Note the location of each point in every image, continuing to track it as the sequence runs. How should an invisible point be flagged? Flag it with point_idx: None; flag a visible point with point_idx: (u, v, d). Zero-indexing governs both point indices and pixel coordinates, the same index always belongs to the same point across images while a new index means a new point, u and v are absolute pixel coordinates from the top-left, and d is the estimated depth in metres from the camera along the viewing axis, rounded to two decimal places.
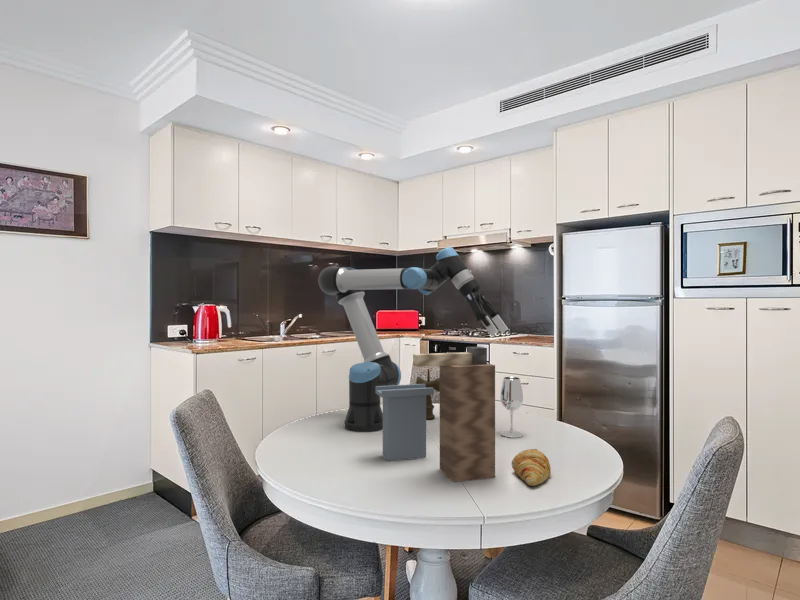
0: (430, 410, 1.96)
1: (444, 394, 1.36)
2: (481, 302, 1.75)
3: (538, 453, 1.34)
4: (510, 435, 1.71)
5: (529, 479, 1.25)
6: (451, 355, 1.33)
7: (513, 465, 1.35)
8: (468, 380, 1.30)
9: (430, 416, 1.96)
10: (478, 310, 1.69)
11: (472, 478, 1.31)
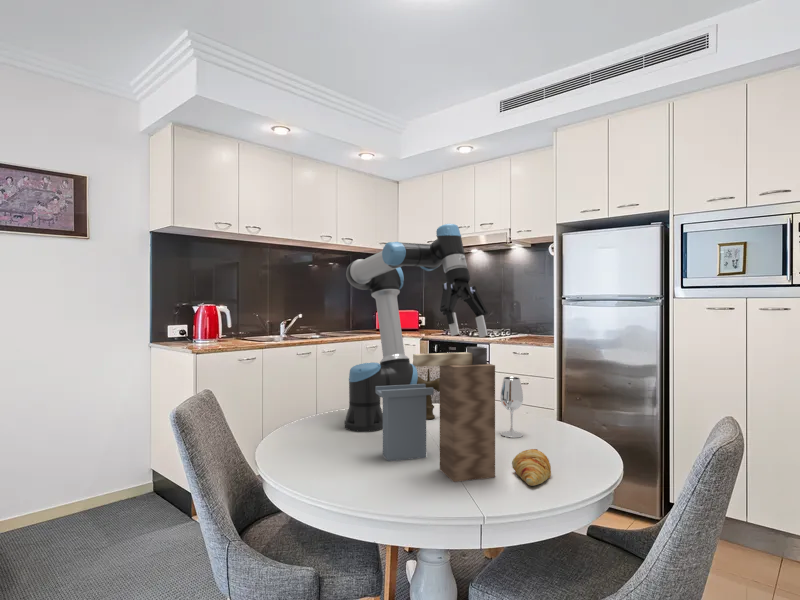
0: (430, 410, 1.96)
1: (444, 394, 1.36)
2: (458, 295, 1.51)
3: (538, 453, 1.34)
4: (510, 435, 1.71)
5: (529, 479, 1.25)
6: (451, 355, 1.33)
7: (513, 465, 1.35)
8: (468, 380, 1.30)
9: (430, 416, 1.96)
10: (445, 303, 1.47)
11: (472, 478, 1.31)
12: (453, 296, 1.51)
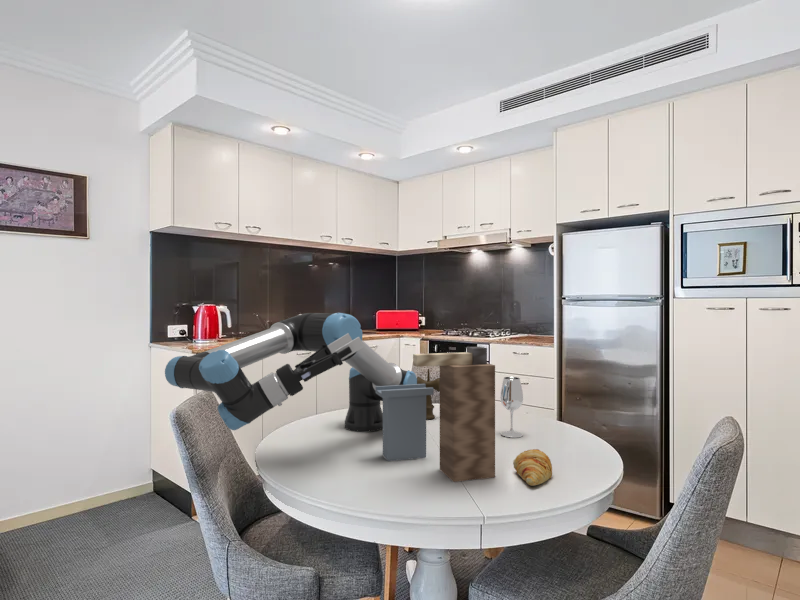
0: (430, 410, 1.96)
1: (444, 394, 1.36)
2: None
3: (540, 453, 1.34)
4: (510, 435, 1.71)
5: (529, 479, 1.25)
6: (451, 355, 1.33)
7: (515, 465, 1.35)
8: (468, 380, 1.30)
9: (430, 416, 1.96)
10: None
11: (472, 478, 1.31)
12: None
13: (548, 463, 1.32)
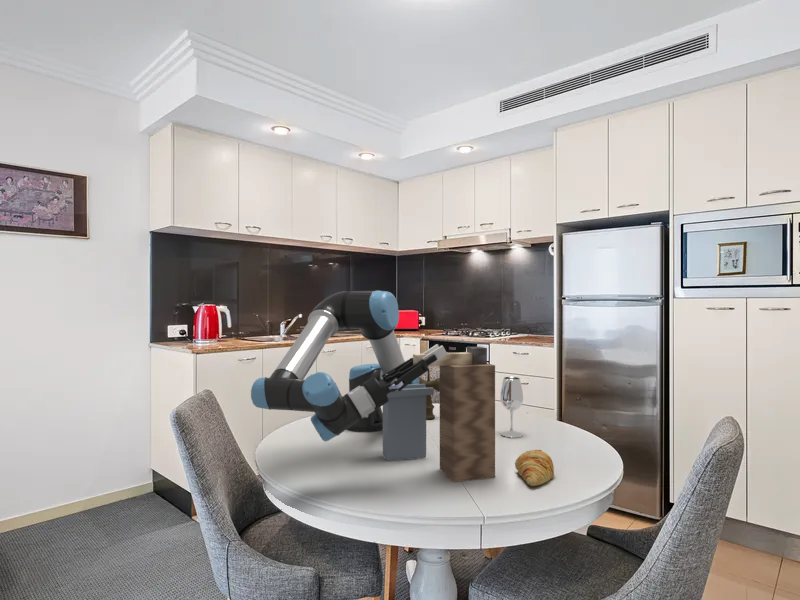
0: (430, 410, 1.96)
1: (444, 394, 1.36)
2: None
3: (541, 454, 1.34)
4: (510, 435, 1.71)
5: (529, 479, 1.25)
6: (451, 355, 1.33)
7: (516, 465, 1.35)
8: (468, 380, 1.30)
9: (430, 416, 1.96)
10: None
11: (472, 478, 1.31)
12: None
13: (550, 464, 1.32)
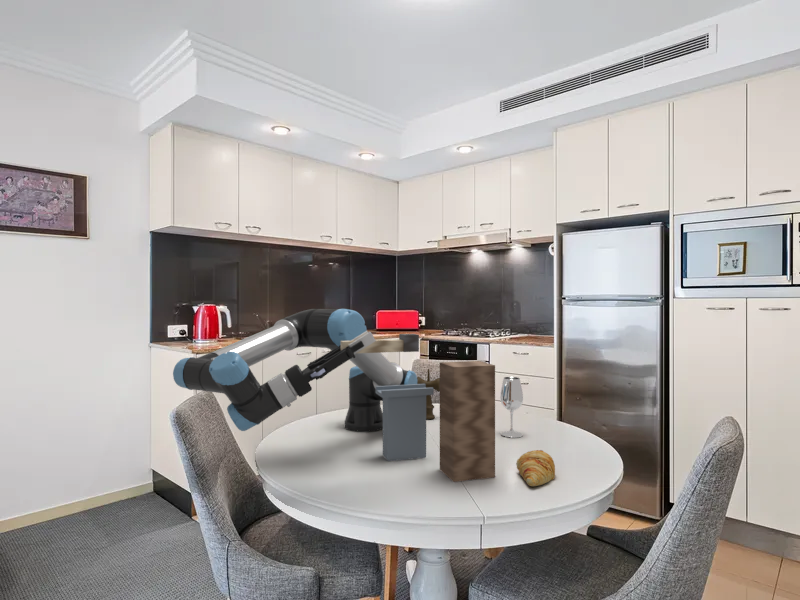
0: (430, 410, 1.96)
1: (444, 394, 1.36)
2: None
3: (543, 454, 1.33)
4: (510, 435, 1.71)
5: (528, 479, 1.25)
6: (380, 342, 1.27)
7: (517, 465, 1.35)
8: (468, 380, 1.30)
9: (430, 416, 1.96)
10: None
11: (472, 478, 1.31)
12: None
13: (551, 464, 1.32)
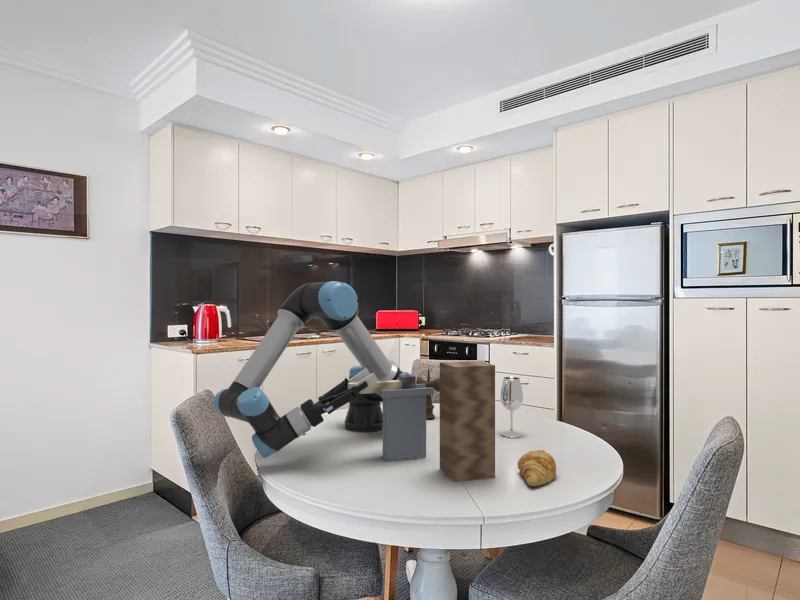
0: (430, 410, 1.96)
1: (444, 394, 1.36)
2: None
3: (544, 454, 1.33)
4: (510, 435, 1.71)
5: (528, 479, 1.25)
6: (382, 383, 1.47)
7: (519, 465, 1.35)
8: (468, 380, 1.30)
9: (430, 416, 1.96)
10: None
11: (472, 478, 1.31)
12: None
13: (552, 465, 1.31)
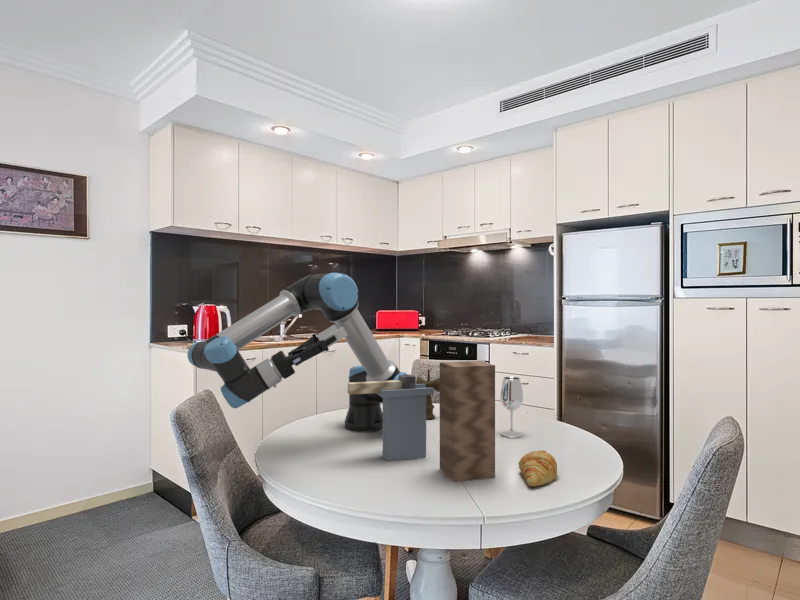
0: (430, 410, 1.96)
1: (444, 394, 1.36)
2: None
3: (545, 455, 1.33)
4: (510, 435, 1.71)
5: (528, 479, 1.25)
6: (382, 383, 1.47)
7: (519, 465, 1.35)
8: (468, 380, 1.30)
9: (430, 416, 1.96)
10: None
11: (472, 478, 1.31)
12: None
13: (552, 465, 1.31)
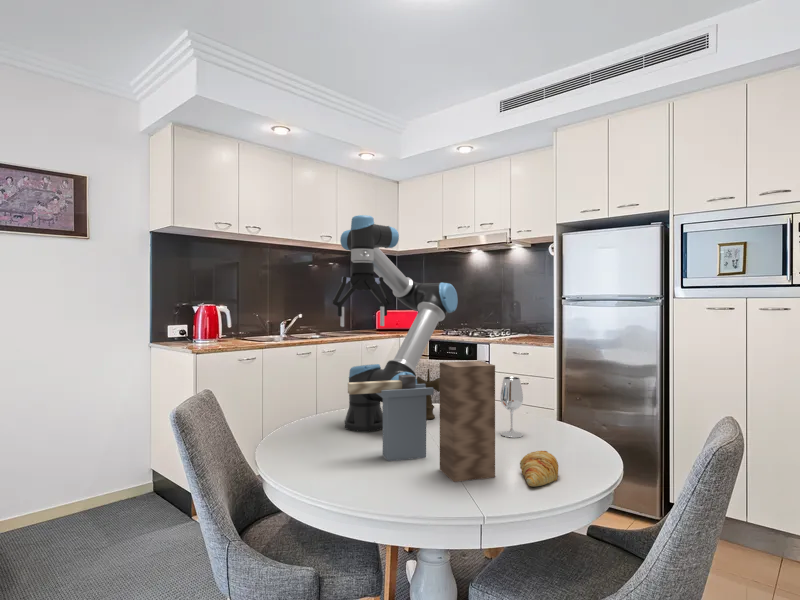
0: (430, 410, 1.96)
1: (444, 394, 1.36)
2: (353, 290, 1.63)
3: (546, 455, 1.33)
4: (510, 435, 1.71)
5: (528, 479, 1.25)
6: (382, 383, 1.47)
7: (521, 465, 1.35)
8: (468, 380, 1.30)
9: (430, 416, 1.96)
10: (334, 298, 1.62)
11: (472, 478, 1.31)
12: (349, 289, 1.64)
13: (553, 465, 1.31)
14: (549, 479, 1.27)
